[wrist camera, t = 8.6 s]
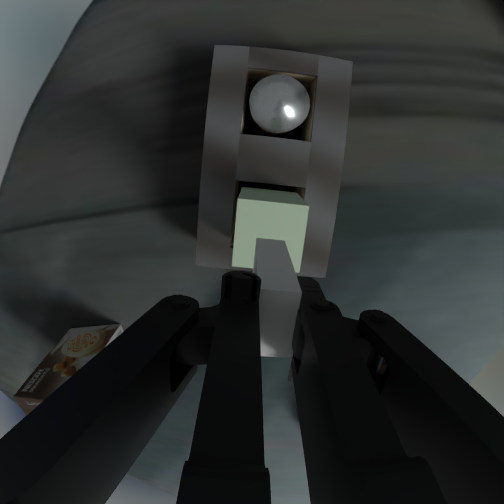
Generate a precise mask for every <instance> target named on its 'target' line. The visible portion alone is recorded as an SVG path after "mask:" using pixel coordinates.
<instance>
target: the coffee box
mask: <svg viewBox="0 0 504 504" xmlns="http://www.w3.org/2000/svg"><path fill="white" fill-rule="evenodd" d="M122 332H124V331H123V329H122V326H121V324H112V325H102V326H91V327H81V328H71V329H70V330H69V331H68V332H67V333H66V334H65V335H64V336H63V337H62V339H61V340H60V341H59V342H58V343H57V344H56V346H55V347H54V348H53V349H52V350H51V351H50V352H49V354H48V355H47V356H46V357H45V358H44V360H43V361H42V362H41V363H40V364H39V366H38V367H37V368H36V369H35V370H34V372H33V373H32V374H31V375H30V376H29V378H28V379H27V380H26V381H25V383H24V384H23V385H22V386H21V388H20V389H19V390H18V391H17V393H16V394H15V395H14V398H15V399H16V401H17V402H18V404H19V405H20V407H21V408H22V410H23V411H24V413H25V414H26V416H27V415H28V414H29V413H30V412H31V411H32V410H33V409H35V408H36V407H37V406H38V405H39V404H40V403H41V402H42V401H44V400H45V399H46V398H47V397H48V396H49V395H50V394H52V393H53V392H54V391H55V390H56V389H57V388H58V387H60V386H61V385H62V384H63V383H64V382H65V381H66V380H68V379H69V378H70V377H71V376H72V375H73V374H75V373H76V372H77V371H78V370H79V369H80V368H81V367H83V366H84V365H85V364H86V363H87V362H88V361H90V360H91V359H92V358H93V357H94V356H95V355H97V354H98V353H99V352H100V351H101V350H102V349H104V348H105V347H106V346H107V345H108V344H109V343H111V342H112V341H113V340H114V339H115V338H117V337H118V336H119V335H120V334H121V333H122Z"/></svg>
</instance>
